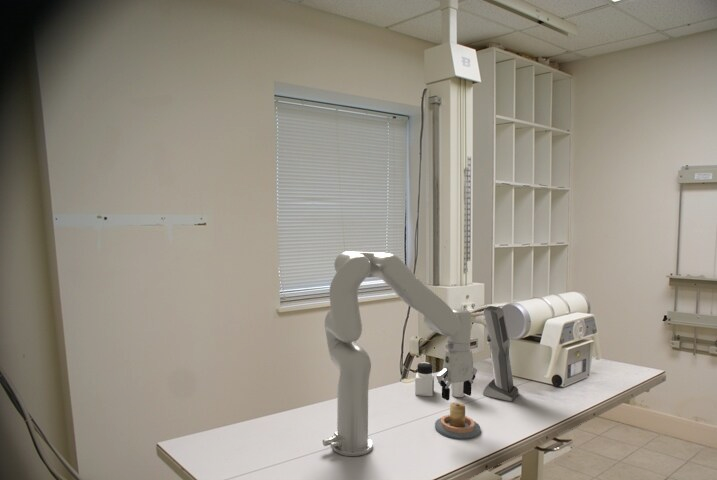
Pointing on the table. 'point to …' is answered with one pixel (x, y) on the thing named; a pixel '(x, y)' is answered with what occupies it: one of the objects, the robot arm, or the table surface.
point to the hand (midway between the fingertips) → (456, 396)
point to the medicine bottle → (424, 380)
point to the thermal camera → (499, 356)
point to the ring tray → (457, 436)
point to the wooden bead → (457, 415)
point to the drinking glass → (457, 389)
